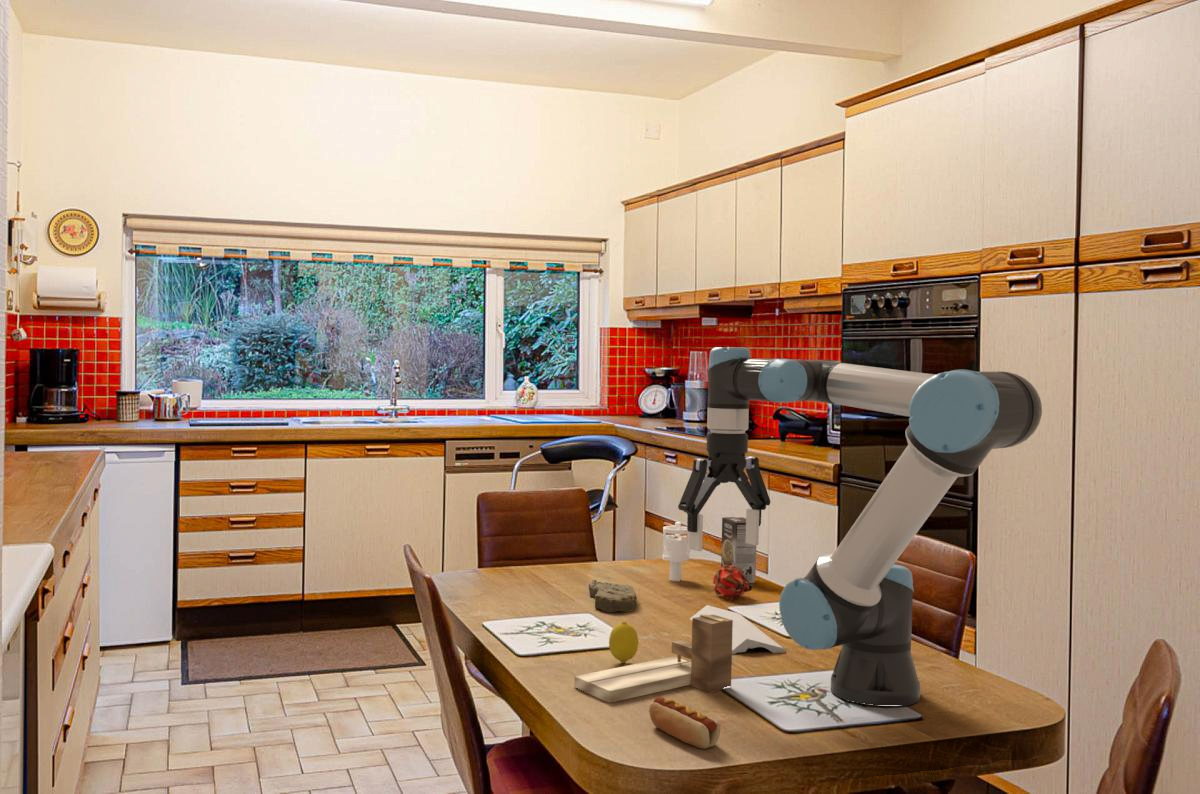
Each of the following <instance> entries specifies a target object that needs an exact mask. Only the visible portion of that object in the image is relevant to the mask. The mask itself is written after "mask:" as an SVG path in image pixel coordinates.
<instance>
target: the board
mask: <svg viewBox="0 0 1200 794" xmlns="http://www.w3.org/2000/svg"><path fill="white" fill-rule="evenodd" d="M687 686H691V660H690V661H689V660H685V659H683V658H681V662H678V656H669V657H663V658H658V659H654V660H649V661H643V662H639V663H634V664H633V663H632V664H629V665H624V666H619V667H613V668H609V669H604V670H599V671H595V672H589V673H584V674H579V675H574V689H576V688H578V689H577V690H579V689H580V690H579V691H581V690H582V692H583V691H584V693H586V694H589V695H590V696H593V697H595V698H597V699H600V700H602V701H604V702H606V703H609V704H610V703H615V702H620V701H624V700H628V699H634V698H637V697H642V696H646V695H650V694H655V693H658V692H659V693H660V692H665V691H669V690H673V689H678V688H681V687H687Z"/></svg>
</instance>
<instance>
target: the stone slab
mask: <svg viewBox="0 0 1200 794" xmlns="http://www.w3.org/2000/svg"><path fill="white" fill-rule="evenodd" d="M588 592H589V596H590V597H592V598H594V597H595V598H594V608H595V609H599V610H601V611H603V612H604V611H605V613H609V612H611V613H615V612H621V613H622V612H623V613H627V612H628V611H629V612H631V611H634V610H635V609H636V607H637V592H636V590H635V589H634V588H633V586H632V585H629V584H619V583H612V582H611V583H609V582H607V581H606V582H603V581H597V579H592V582H589V583H588Z"/></svg>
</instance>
